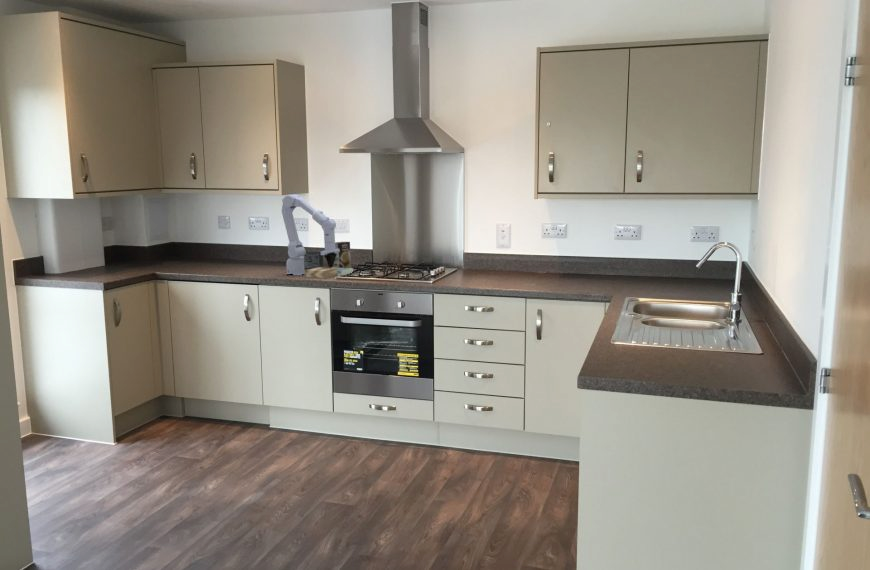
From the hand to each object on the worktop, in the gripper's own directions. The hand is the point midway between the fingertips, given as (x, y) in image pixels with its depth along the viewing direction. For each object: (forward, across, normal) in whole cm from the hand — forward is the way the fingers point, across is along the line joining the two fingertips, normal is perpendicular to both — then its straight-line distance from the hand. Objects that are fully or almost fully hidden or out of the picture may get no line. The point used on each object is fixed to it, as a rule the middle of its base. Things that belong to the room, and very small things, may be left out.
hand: (331, 266), depth 396 cm
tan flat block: (+4, -6, +2) cm, 8 cm away
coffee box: (+5, +18, +6) cm, 20 cm away
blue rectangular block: (+2, +6, 0) cm, 6 cm away
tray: (+4, +5, 0) cm, 7 cm away
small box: (+5, +19, +27) cm, 33 cm away
